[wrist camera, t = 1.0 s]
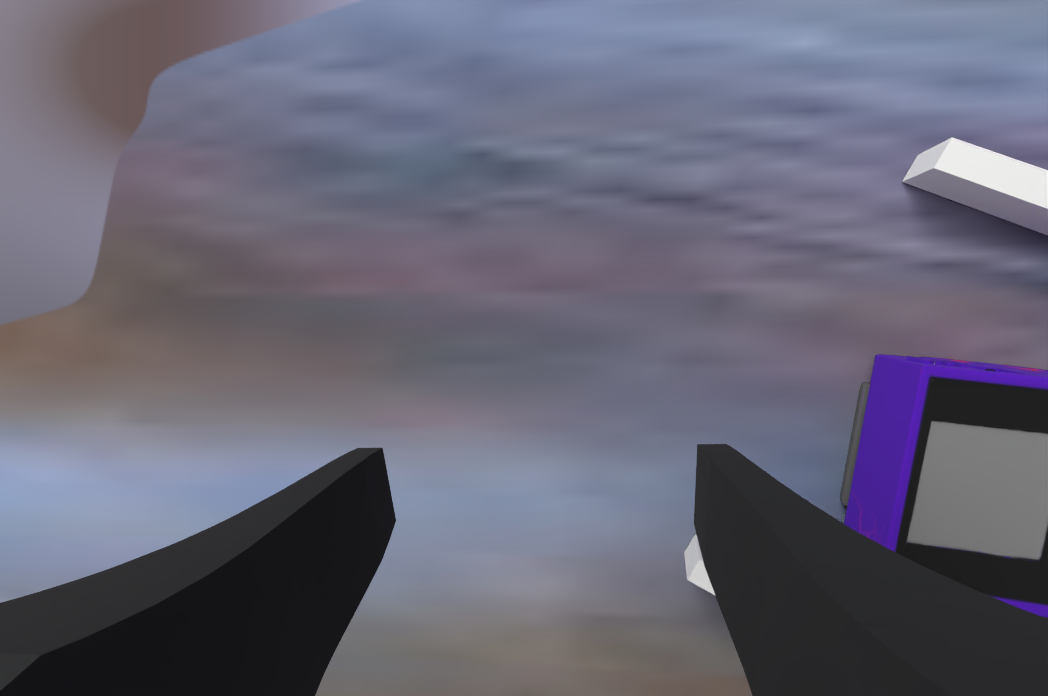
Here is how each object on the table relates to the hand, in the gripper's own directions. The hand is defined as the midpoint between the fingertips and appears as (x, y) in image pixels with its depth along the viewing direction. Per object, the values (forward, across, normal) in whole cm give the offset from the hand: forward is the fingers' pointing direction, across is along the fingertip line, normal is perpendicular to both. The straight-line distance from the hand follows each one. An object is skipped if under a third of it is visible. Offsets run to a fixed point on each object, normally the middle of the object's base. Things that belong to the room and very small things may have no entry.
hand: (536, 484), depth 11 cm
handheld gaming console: (+12, -21, +7) cm, 25 cm away
